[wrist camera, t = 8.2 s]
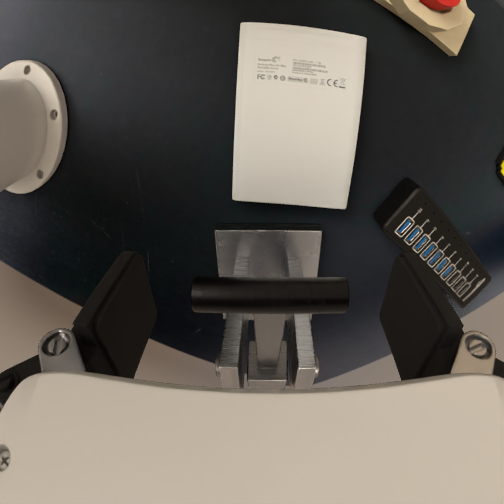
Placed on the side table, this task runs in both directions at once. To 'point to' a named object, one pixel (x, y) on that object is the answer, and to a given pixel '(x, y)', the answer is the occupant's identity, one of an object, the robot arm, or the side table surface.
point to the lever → (269, 313)
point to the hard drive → (296, 114)
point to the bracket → (268, 265)
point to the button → (440, 4)
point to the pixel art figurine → (501, 166)
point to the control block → (435, 22)
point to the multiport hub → (432, 241)
